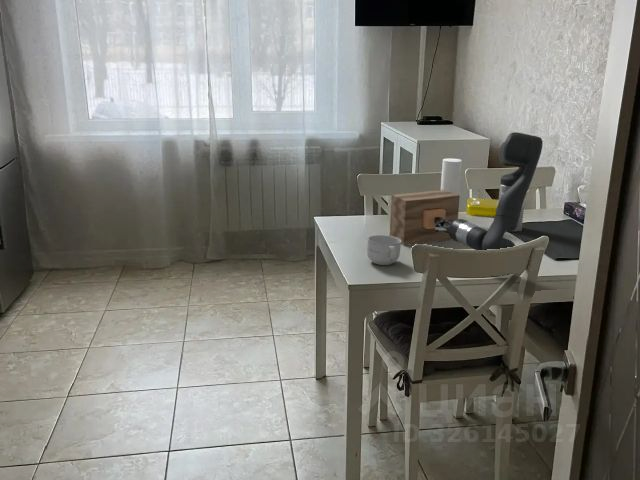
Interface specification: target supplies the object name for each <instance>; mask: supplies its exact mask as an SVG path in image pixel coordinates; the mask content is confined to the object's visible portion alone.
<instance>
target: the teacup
mask: <svg viewBox="0 0 640 480" xmlns="http://www.w3.org/2000/svg"><path fill="white" fill-rule="evenodd" d="M401 245H402V244H401V240H400V239H399V238H396V237H393V236H390V235H385V234H373V235H369V236H368V237H367V245H366V246H367V247H366V255H367V258H368V259H369V260H371V262H372V263H374V264H375V265H380V266H391V265H393V264H394V263H395V262H397V261H398V260H399V258H400V253H401Z"/></svg>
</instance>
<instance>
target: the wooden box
mask: <svg viewBox="0 0 640 480" xmlns="http://www.w3.org/2000/svg"><path fill="white" fill-rule="evenodd" d="M460 197H461V196H460V194H459V195H456V194H454V193H451V192H448V191H446V190H441V189H440V190H428V191H427V190H426V191H418V192H406V193H396V194H391V198H390V199H391V200H390V220H389V236H393V237H396V238H399V239H400V240H401V245H402V246H403V245H404V246H409V245H408V244H411V245H417V244H416V243H419V244H424V243H423V242H427V243H433V241H434V242H441V241H449V240H452V239H451V237H450V235H449V234H448V233H445V232H443V230H440V231H439V232H435V228H433V229H426V228H424V227H422V223H423V210H424V209H434V208H441V209H443V210H446V214H445V219H448V220H450V219H455V220H458V219H459V209H460ZM411 245H410V246H411Z"/></svg>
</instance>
